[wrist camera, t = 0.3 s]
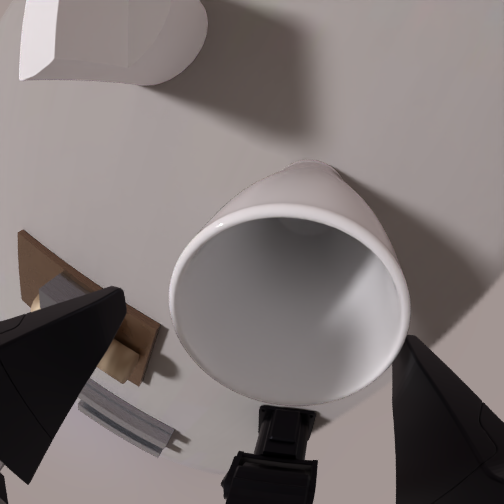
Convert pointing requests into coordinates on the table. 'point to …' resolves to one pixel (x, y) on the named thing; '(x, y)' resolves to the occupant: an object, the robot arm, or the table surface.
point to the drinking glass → (292, 291)
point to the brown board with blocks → (74, 285)
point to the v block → (123, 419)
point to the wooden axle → (111, 356)
